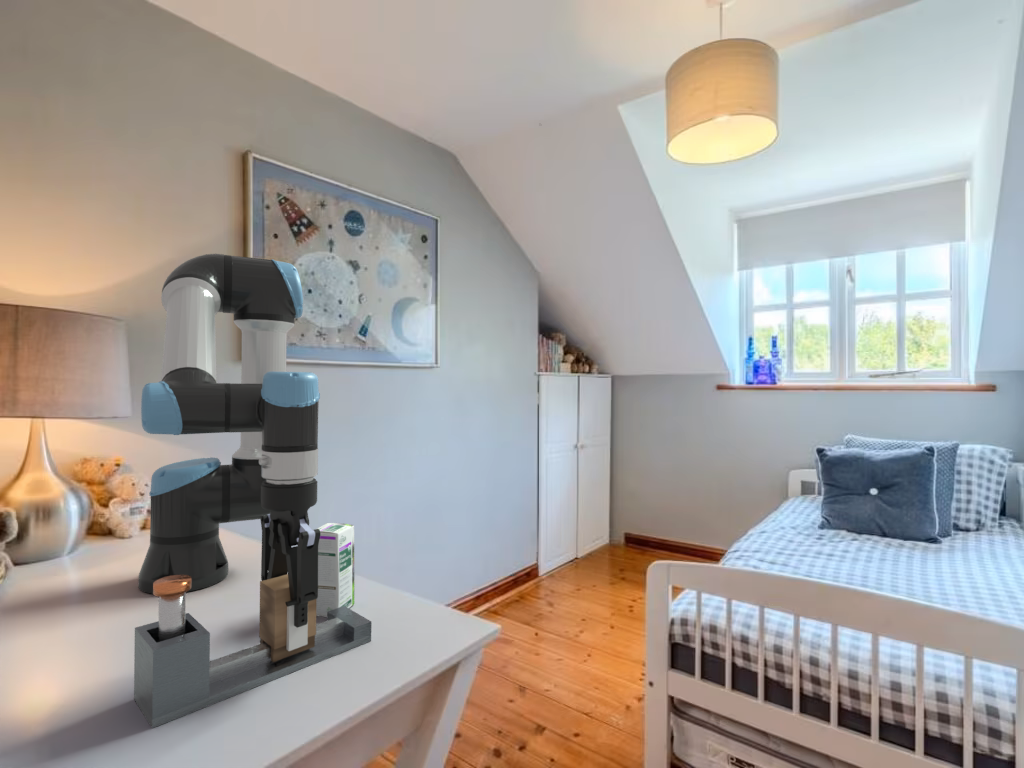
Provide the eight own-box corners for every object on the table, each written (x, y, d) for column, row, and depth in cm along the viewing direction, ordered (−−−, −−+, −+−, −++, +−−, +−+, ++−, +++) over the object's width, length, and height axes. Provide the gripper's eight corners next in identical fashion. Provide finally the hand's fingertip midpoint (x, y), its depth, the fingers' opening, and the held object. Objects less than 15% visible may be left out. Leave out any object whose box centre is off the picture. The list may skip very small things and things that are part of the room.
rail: (134, 699, 68) (134, 627, 67) (343, 624, 89) (344, 569, 89) (152, 728, 62) (153, 650, 62) (371, 640, 83) (372, 582, 83)
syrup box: (338, 618, 91) (339, 533, 91) (306, 615, 92) (307, 530, 92) (354, 604, 96) (356, 524, 96) (324, 601, 98) (325, 521, 97)
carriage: (259, 650, 77) (260, 581, 77) (299, 635, 82) (300, 570, 82) (274, 663, 74) (275, 591, 74) (315, 647, 78) (316, 579, 78)
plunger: (148, 662, 67) (149, 580, 67) (184, 650, 70) (185, 572, 70) (157, 675, 64) (158, 589, 64) (195, 662, 67) (196, 580, 67)
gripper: (237, 473, 81) (235, 628, 81) (294, 492, 69) (291, 674, 69) (286, 467, 86) (284, 612, 87) (347, 484, 74) (344, 652, 75)
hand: (287, 639), depth 78 cm, fingers closed on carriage, 5 cm apart
